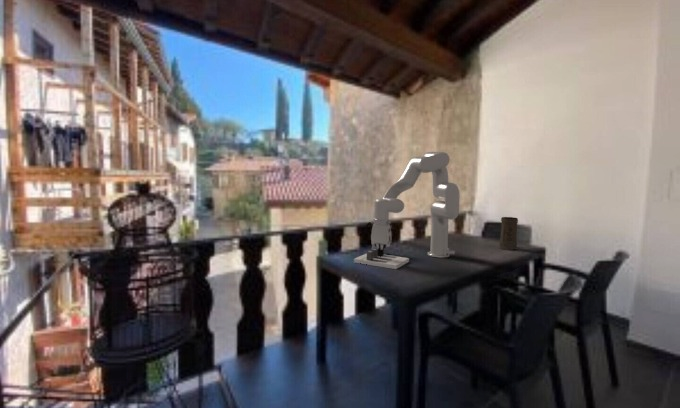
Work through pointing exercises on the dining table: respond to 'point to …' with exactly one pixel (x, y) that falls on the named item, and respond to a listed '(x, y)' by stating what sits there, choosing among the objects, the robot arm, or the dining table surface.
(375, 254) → the block
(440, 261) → the dining table surface
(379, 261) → the panel
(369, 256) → the breaker
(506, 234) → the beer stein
